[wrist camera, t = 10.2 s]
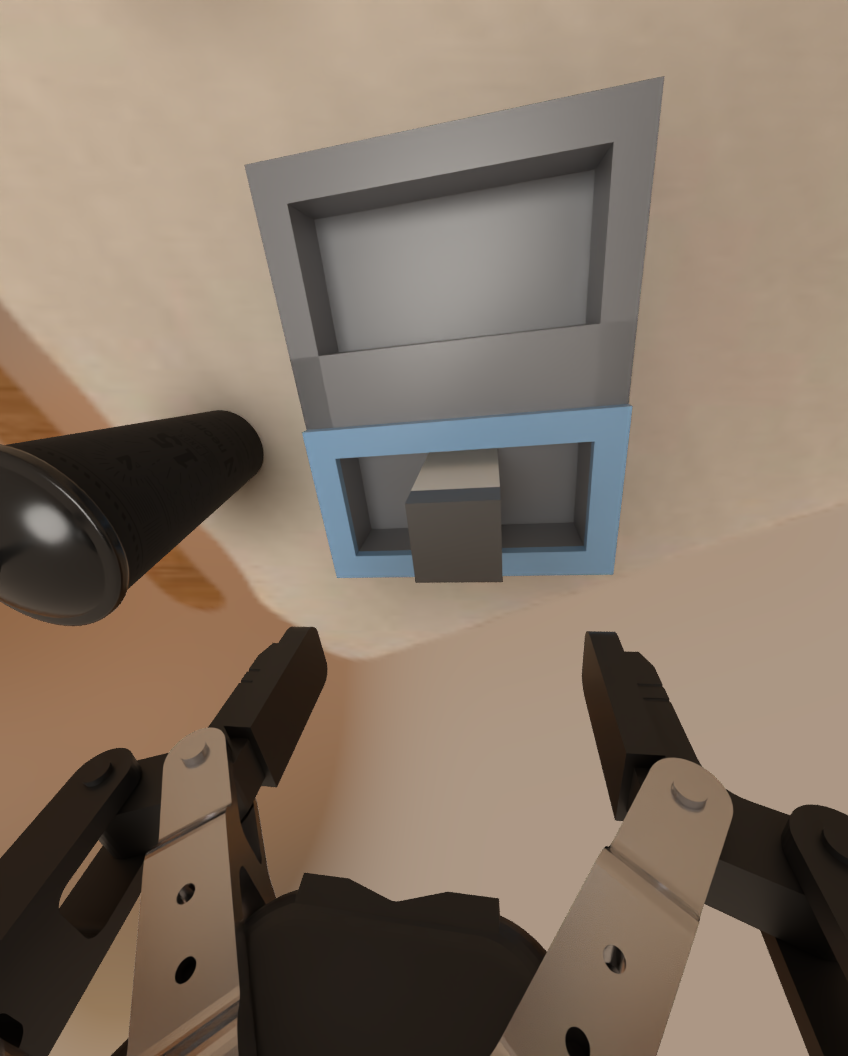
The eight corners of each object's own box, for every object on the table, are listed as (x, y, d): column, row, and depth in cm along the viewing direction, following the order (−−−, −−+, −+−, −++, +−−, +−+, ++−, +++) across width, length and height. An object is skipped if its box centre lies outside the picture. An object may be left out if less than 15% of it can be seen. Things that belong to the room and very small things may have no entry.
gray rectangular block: (497, 446, 23) (500, 499, 16) (498, 509, 25) (502, 582, 18) (429, 451, 24) (404, 503, 17) (435, 511, 26) (415, 582, 19)
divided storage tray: (628, 126, 17) (671, 66, 13) (593, 535, 26) (613, 574, 22) (287, 192, 20) (236, 159, 16) (358, 542, 29) (336, 577, 25)
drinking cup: (260, 519, 29) (-87, 815, 12) (163, 460, 28) (-379, 688, 11) (302, 432, 26) (-101, 667, 8) (193, 362, 25) (-535, 457, 7)
